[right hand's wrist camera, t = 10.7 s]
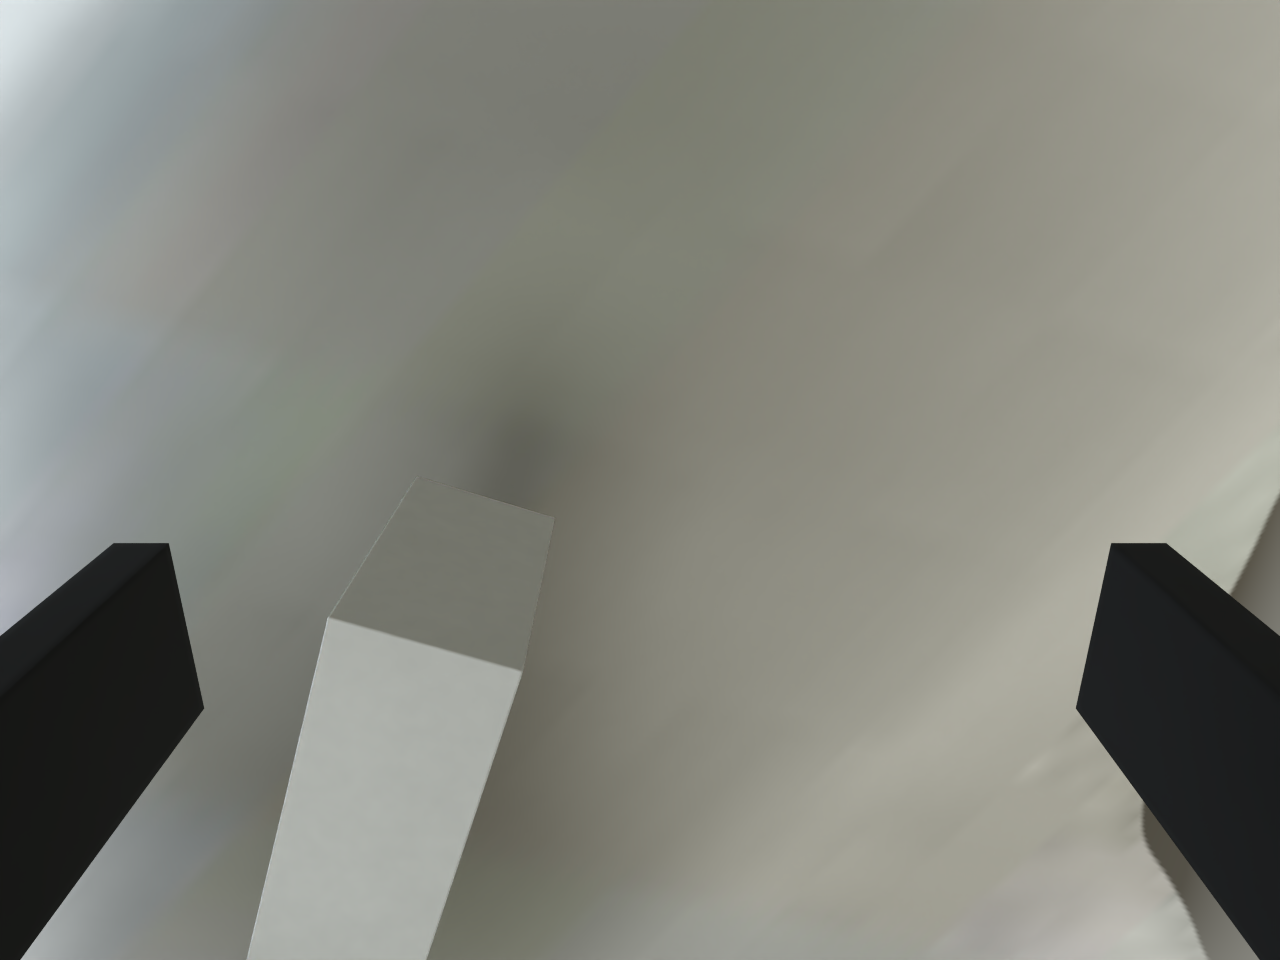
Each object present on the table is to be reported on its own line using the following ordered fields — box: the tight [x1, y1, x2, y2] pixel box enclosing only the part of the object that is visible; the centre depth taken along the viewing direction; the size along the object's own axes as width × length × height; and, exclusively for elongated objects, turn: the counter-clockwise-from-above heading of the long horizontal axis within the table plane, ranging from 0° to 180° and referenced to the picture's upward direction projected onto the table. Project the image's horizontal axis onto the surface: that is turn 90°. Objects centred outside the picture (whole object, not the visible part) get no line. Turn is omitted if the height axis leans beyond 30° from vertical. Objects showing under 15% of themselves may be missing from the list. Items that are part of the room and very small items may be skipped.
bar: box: [247, 476, 555, 960], centre depth 31 cm, size 24×5×10 cm, turn 162°
